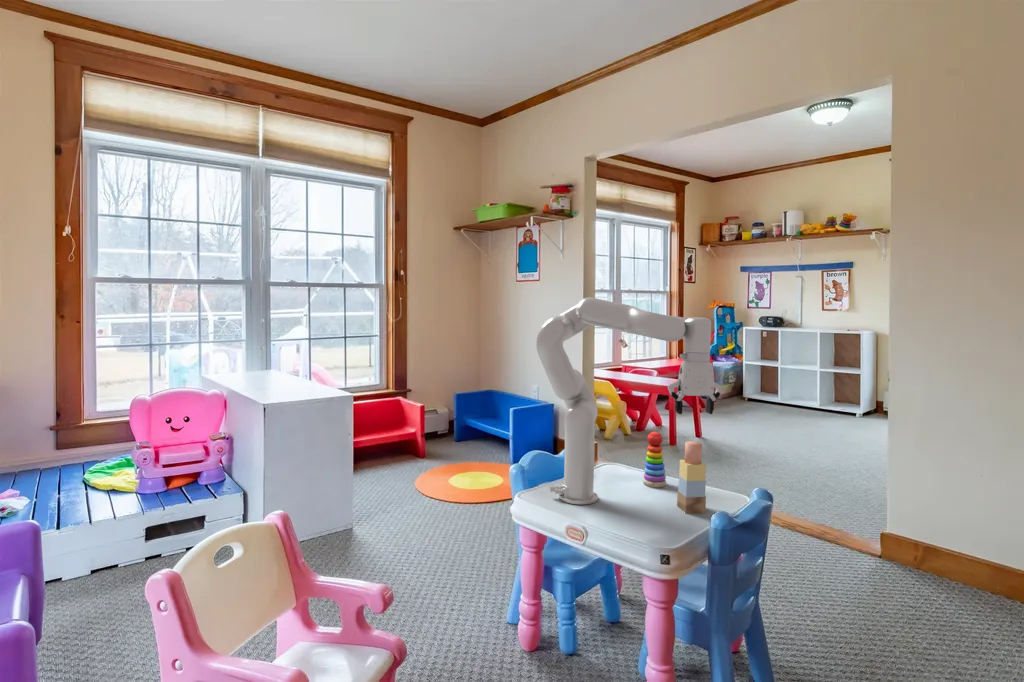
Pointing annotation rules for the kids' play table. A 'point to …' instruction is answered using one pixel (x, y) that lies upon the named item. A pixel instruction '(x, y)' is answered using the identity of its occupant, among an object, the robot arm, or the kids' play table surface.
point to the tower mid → (692, 488)
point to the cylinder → (693, 452)
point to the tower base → (691, 503)
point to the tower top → (692, 471)
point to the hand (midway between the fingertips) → (694, 413)
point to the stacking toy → (654, 462)
